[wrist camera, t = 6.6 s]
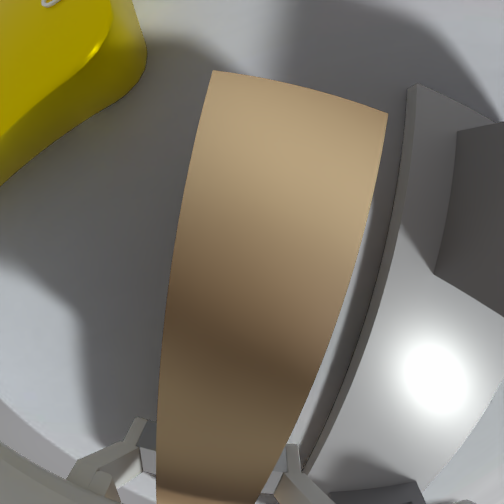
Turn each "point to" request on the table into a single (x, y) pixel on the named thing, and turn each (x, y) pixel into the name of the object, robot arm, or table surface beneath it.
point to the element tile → (61, 69)
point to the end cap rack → (425, 315)
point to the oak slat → (257, 278)
